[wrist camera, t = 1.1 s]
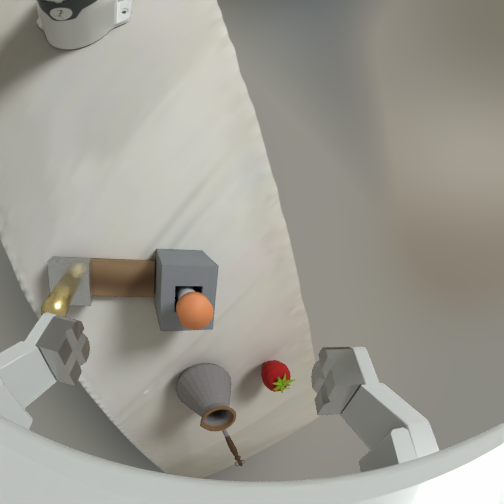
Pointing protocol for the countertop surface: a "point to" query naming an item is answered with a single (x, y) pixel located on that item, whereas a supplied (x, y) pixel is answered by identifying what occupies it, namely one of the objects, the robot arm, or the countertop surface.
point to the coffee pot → (209, 398)
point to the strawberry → (275, 375)
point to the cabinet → (182, 283)
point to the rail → (123, 277)
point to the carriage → (68, 284)
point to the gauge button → (193, 308)
